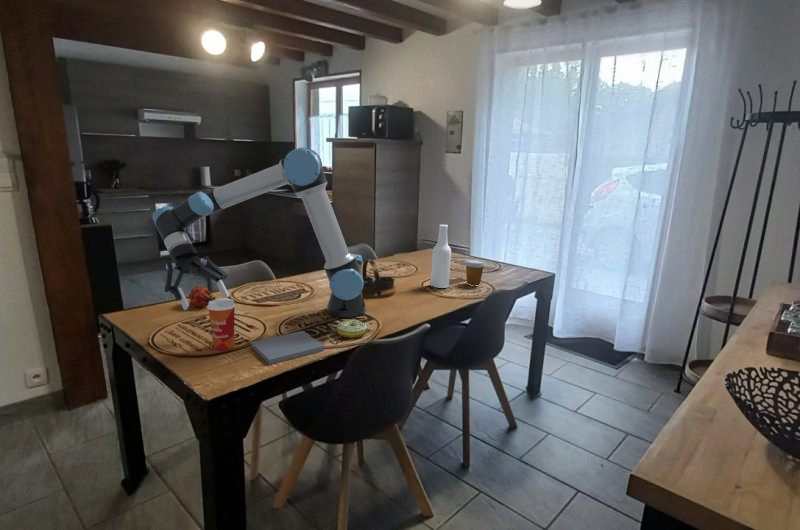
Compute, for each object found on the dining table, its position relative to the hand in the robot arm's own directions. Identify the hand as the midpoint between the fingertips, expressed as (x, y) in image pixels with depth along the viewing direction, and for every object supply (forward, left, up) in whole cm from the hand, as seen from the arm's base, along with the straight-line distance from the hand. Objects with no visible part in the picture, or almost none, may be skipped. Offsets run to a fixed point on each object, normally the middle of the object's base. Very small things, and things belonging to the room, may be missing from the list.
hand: (207, 302), depth 144 cm
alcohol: (-108, -7, -13) cm, 109 cm away
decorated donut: (-42, +18, -14) cm, 48 cm away
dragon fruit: (-7, -36, -13) cm, 40 cm away
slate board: (-18, +19, -13) cm, 29 cm away
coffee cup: (-2, +7, -13) cm, 15 cm away
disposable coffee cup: (-125, -1, -13) cm, 126 cm away
